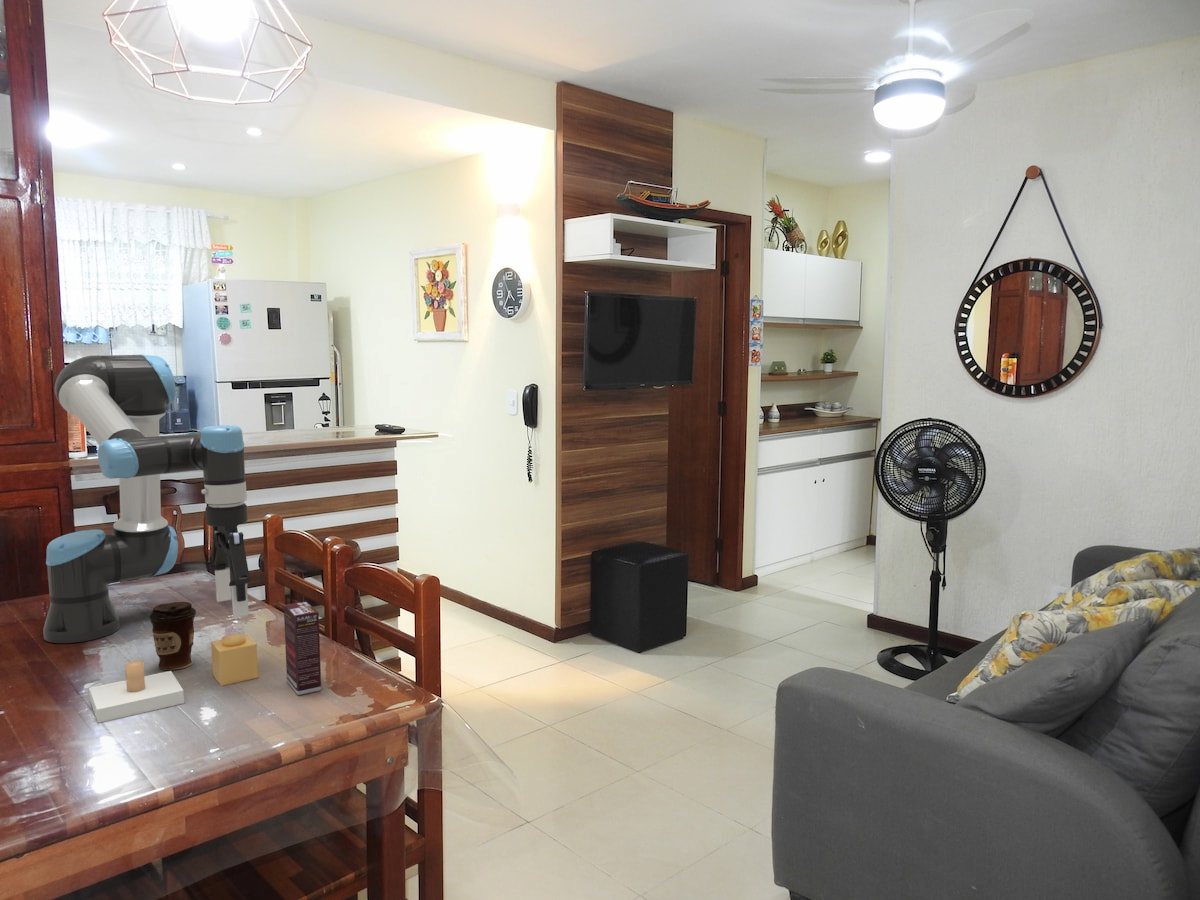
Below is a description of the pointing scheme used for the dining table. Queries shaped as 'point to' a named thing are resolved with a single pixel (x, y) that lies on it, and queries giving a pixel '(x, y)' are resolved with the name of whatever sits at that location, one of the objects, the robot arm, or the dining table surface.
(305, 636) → the supplement box
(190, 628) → the coffee cup
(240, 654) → the cube with hemisphere knob
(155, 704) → the white rectangular block
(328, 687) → the dining table surface
